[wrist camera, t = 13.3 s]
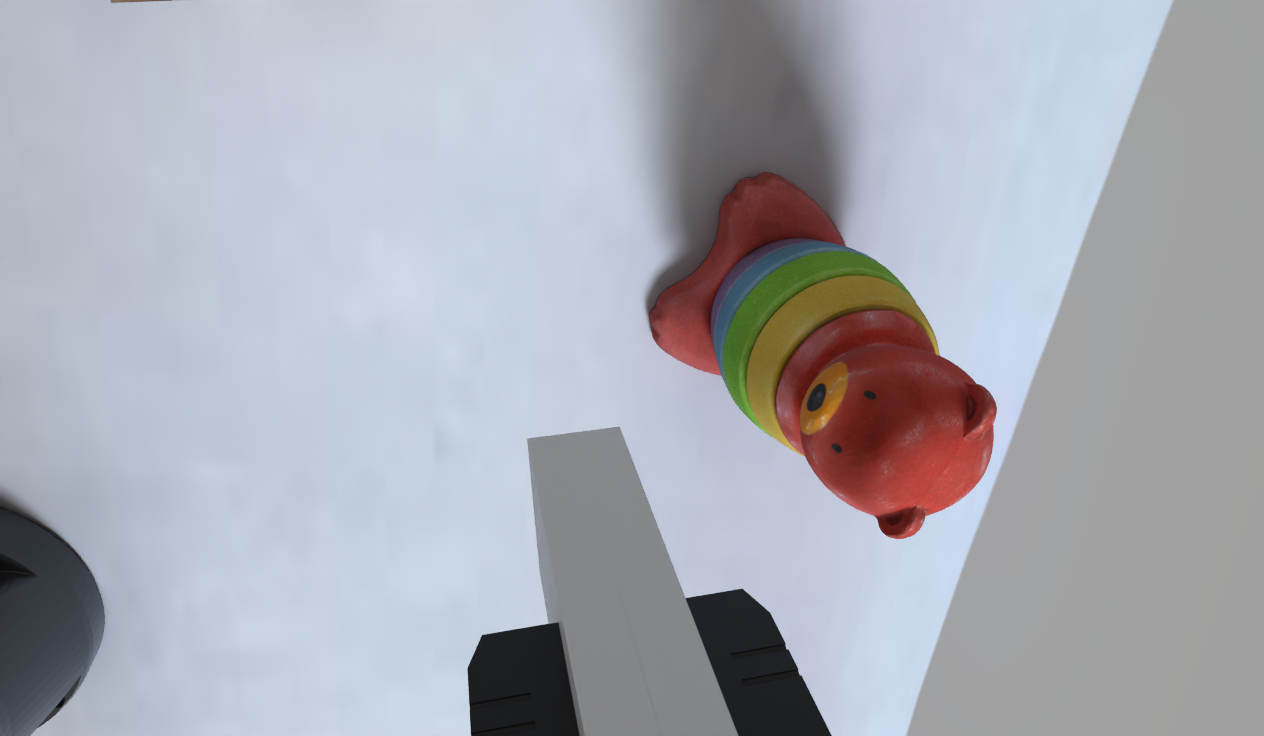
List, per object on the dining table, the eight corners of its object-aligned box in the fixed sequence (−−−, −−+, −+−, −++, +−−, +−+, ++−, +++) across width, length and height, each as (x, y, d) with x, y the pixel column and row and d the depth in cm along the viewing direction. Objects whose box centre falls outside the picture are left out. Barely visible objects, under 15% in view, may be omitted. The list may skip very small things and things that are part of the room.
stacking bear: (750, 155, 42) (939, 286, 26) (892, 250, 46) (1127, 413, 31) (632, 331, 45) (740, 542, 29) (775, 406, 49) (935, 626, 34)
